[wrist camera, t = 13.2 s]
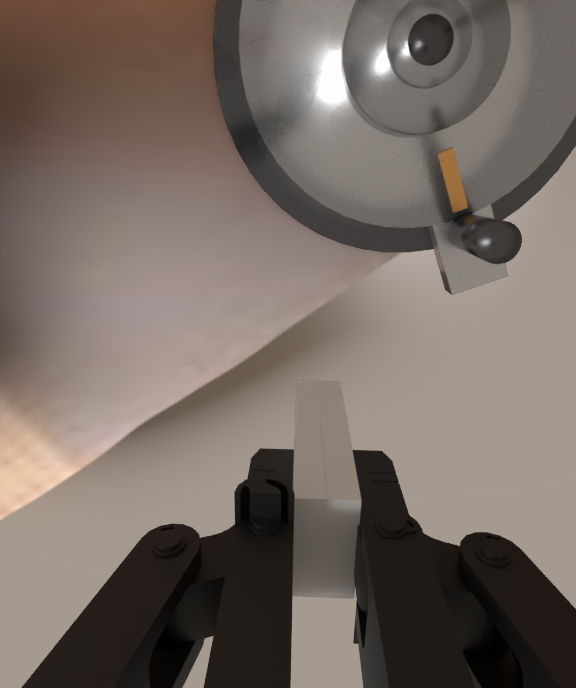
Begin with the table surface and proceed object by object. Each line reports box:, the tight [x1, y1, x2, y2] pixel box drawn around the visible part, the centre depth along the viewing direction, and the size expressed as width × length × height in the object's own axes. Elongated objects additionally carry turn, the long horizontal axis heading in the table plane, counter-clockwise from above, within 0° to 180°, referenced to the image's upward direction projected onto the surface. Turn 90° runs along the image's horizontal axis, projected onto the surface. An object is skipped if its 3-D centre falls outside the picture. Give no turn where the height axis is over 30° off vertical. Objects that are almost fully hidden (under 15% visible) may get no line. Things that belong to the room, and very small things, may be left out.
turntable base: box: [213, 0, 576, 252], centre depth 33 cm, size 26×26×1 cm
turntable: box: [239, 0, 576, 295], centre depth 28 cm, size 23×25×8 cm
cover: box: [341, 0, 511, 138], centre depth 28 cm, size 9×9×4 cm
